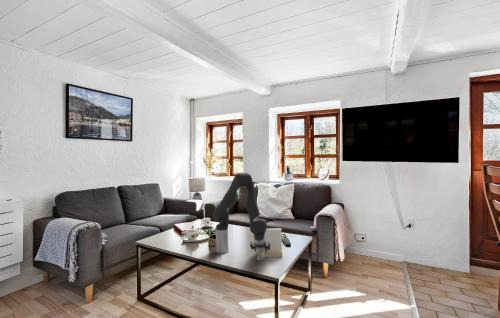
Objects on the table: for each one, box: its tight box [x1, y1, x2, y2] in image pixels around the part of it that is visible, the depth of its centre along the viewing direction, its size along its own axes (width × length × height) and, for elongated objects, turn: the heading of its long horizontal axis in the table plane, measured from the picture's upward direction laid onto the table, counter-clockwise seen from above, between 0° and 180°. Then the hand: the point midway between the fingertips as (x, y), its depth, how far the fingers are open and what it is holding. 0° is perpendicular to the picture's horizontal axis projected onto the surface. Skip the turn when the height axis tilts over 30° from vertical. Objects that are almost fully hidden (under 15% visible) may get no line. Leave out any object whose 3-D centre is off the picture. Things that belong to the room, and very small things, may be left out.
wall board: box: [264, 228, 283, 258], centre depth 183 cm, size 18×8×18 cm, turn 85°
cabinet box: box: [256, 248, 266, 261], centre depth 175 cm, size 5×3×11 cm, turn 85°
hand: (260, 250), depth 177 cm, fingers open, 6 cm apart
